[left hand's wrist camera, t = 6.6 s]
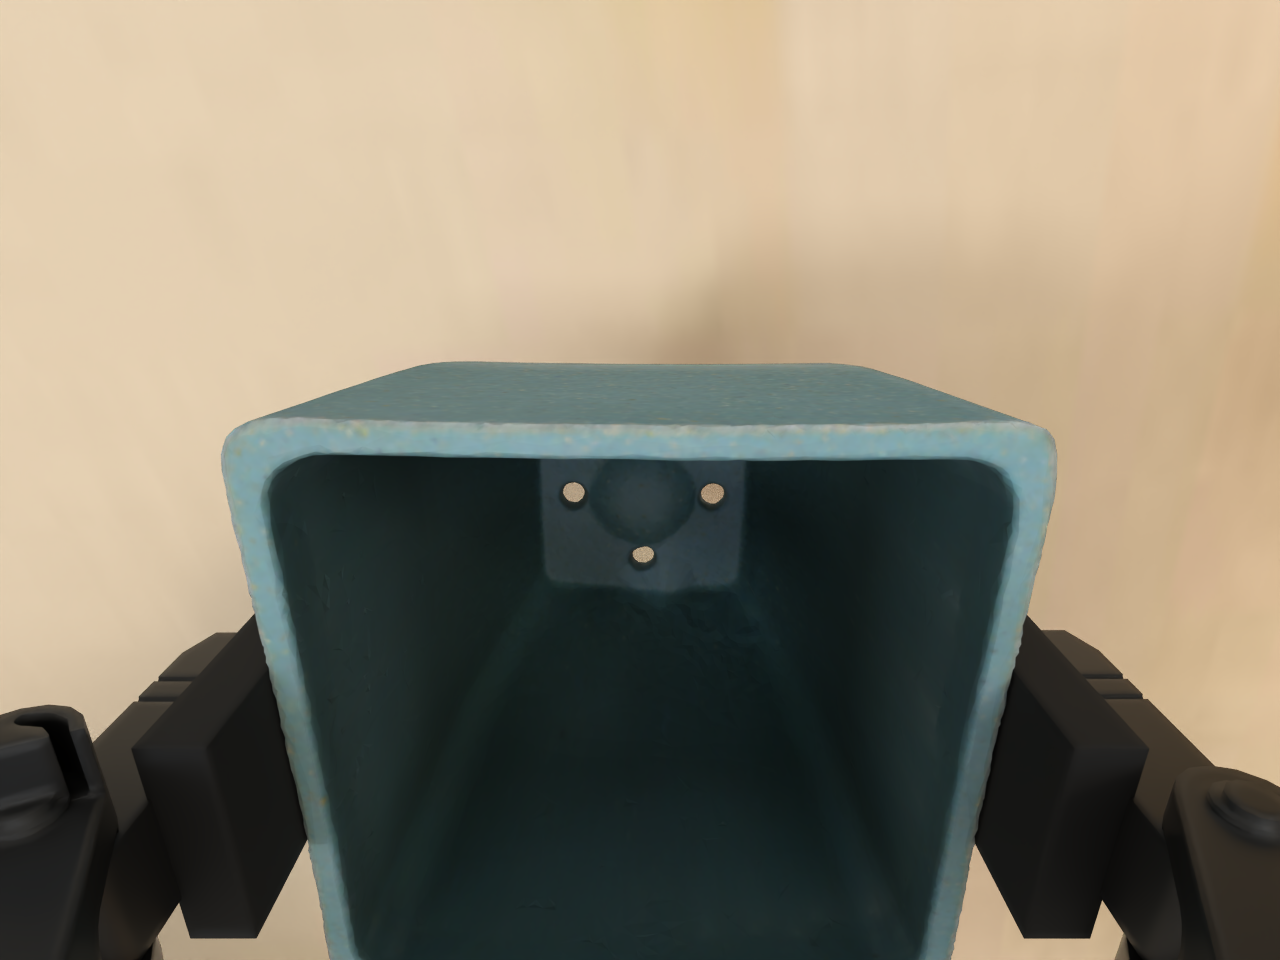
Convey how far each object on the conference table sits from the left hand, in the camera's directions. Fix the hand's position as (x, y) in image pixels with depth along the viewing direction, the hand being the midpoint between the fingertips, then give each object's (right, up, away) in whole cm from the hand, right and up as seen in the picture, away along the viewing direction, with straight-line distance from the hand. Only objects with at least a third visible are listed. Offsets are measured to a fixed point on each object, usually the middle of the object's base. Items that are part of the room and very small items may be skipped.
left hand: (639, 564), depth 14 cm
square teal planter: (0, +1, +3) cm, 4 cm away
